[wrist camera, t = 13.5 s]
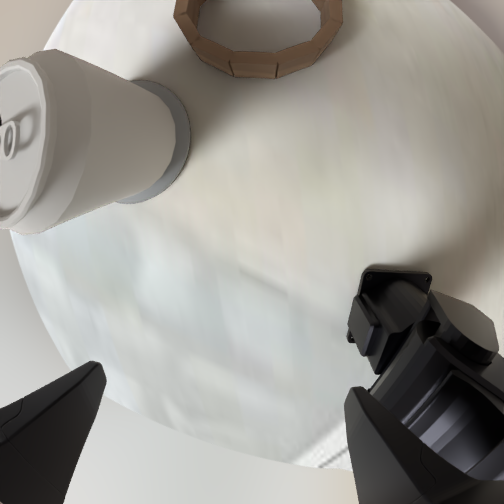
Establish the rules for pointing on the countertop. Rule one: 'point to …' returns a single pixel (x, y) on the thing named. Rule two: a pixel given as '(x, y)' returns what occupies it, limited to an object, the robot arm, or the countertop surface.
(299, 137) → the countertop surface
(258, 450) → the countertop surface
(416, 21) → the countertop surface
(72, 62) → the can
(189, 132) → the mat
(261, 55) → the collar
